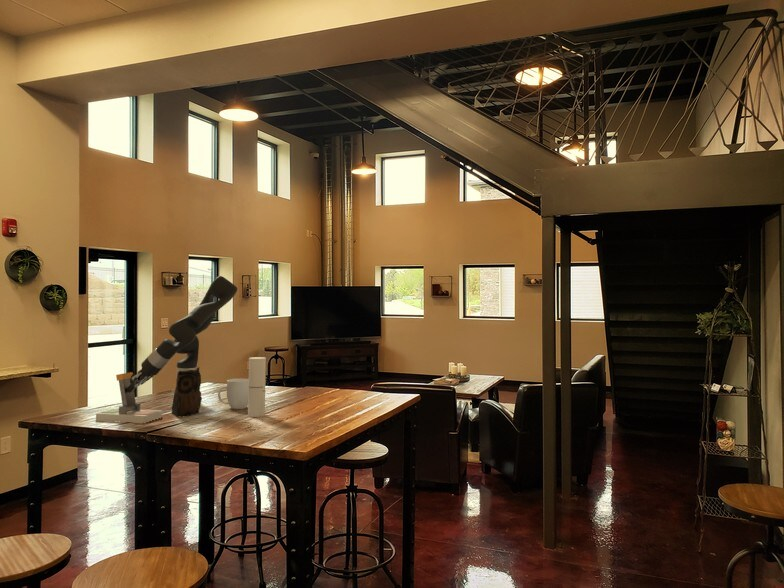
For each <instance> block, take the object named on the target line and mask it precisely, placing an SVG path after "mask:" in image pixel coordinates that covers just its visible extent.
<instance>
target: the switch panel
mask: <svg viewBox="0 0 784 588" xmlns="http://www.w3.org/2000/svg"><path fill="white" fill-rule="evenodd" d="M141 404H142V403H141V402H136V405H137V409H136V410H133V411H130V412H127V407H128V406H123V405H120V406H118V408H116V407H115V408H110V409H107V410H103V411H100V412H97V413H95V421H96V422H107V421H120V422H119V423H125V422H133V423H132V424H143V423H145V424H147V423H146V422H148V423H150V422H149V421H151V422H153V421H152V420H154V421H156V420H155V419H157V420H159V419H158V418H160V419H162V418H163V410H157V409H141ZM161 417H162V418H161Z"/></svg>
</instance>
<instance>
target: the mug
mask: <svg viewBox="0 0 784 588" xmlns="http://www.w3.org/2000/svg"><path fill="white" fill-rule="evenodd" d="M248 388H249V378H229V379H227V380H226V385H223V386H221V387H220V388H219V390H218V393H217V397H218V398H217V399H219V402H221V403H222V404H225V405H229V407H230V409H232V410H244V409H246V408H248ZM223 389H226V398H227V401H224V400H223V399H222V397H221V392H222V390H223Z"/></svg>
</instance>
